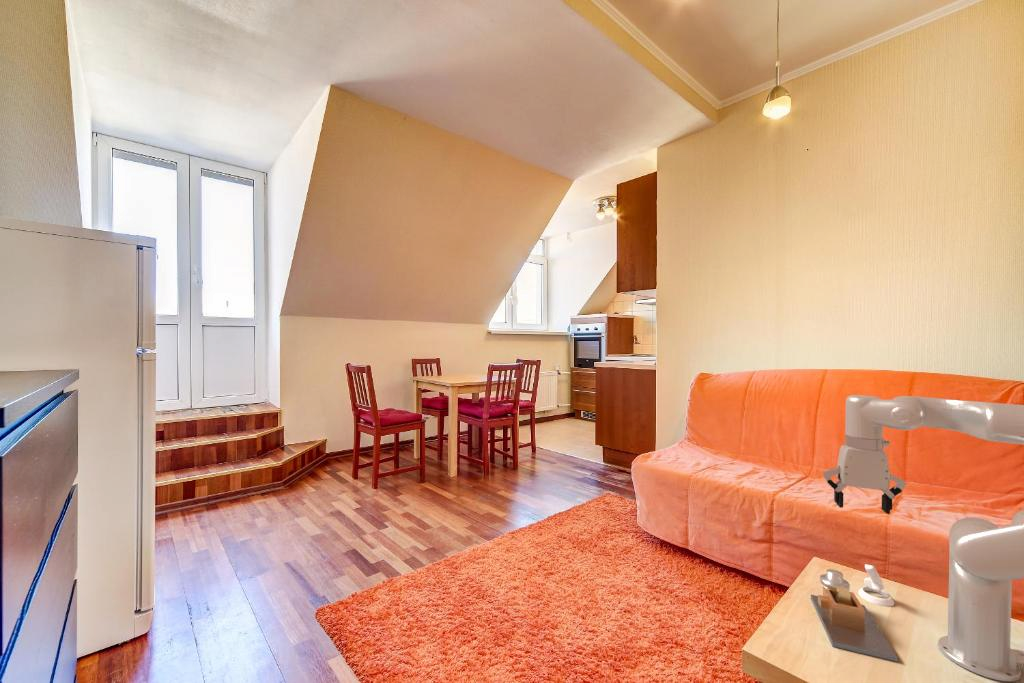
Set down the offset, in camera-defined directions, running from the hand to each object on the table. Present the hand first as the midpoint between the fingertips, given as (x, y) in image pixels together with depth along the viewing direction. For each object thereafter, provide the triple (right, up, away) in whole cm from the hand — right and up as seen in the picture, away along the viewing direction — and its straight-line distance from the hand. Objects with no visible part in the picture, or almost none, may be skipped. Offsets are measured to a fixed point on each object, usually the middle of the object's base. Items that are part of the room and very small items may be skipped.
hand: (862, 508), depth 111 cm
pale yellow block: (-7, -27, -2) cm, 28 cm away
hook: (+11, -29, +9) cm, 32 cm away
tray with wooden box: (-6, -28, -4) cm, 29 cm away
